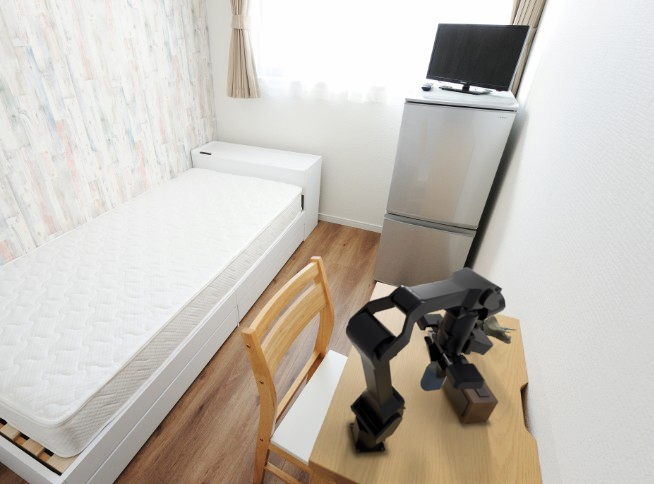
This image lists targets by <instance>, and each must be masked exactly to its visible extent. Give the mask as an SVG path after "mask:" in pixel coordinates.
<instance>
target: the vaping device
mask: <svg viewBox="0 0 654 484" xmlns="http://www.w3.org/2000/svg"><path fill="white" fill-rule="evenodd" d="M445 359H446V357H445V356H444V354H443V355H442V358H441V360H445ZM446 377H447V376H446ZM446 377H444V378H443V379H438V378H437V362H435V361H432V362H431V363H428V364H427V366H426V367H425V369H424V372H423V374H422V377H421V378H420V382H419V386H420V388H421V389H422V390H423V391H424V392H432V391H440V390H441V389H442V388H443V384H444V382H445V379H446Z"/></svg>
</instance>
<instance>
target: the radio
mask: <svg viewBox="0 0 654 484" xmlns="http://www.w3.org/2000/svg"><path fill="white" fill-rule="evenodd" d="M442 388H443V390H444V392H445V394H446V396H447V398H448V400H449V401H450V403H451V405H452V407H453V408H454V410H455V412H456V414H457V416H458V418H459V420H460V421H461V423H462V424H479V423H487V421H489V419H490V417H491V415H492V414H493V412H494V410H495V409H496V407H497V406H498V404H499V400H498V399H497V397H496V396H495V394H494V393H493V391H492V390H491V388H490V387H489V386H488V384H487V382H486V381H485V382H484V384H483V386H482V388H481V389H459V390H457V389H455V388H453V387H452V385H451V383H450V382H449V380H448V378H447V376H446V378H445V380H444V382H443V385H442Z"/></svg>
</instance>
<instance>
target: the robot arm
mask: <svg viewBox="0 0 654 484" xmlns="http://www.w3.org/2000/svg"><path fill="white" fill-rule="evenodd" d="M502 291H503V288H502V287H500V285H499V286H498V285H497V284H496V283H494V282H492V281H491V280H489V279H488V278H486V277H485V276H483V275H482V274H479V273H477V272H476V271H475V270H473V269H472V268H470V267H463V268H460V269H457V270H454V271H453V272H452V274H451V276H450V278H448V279H442V280H439V281H433V282H428V283H422V284H418V285H413V286H412V285H411V286H405V285H399V286H397V287H396V288H395V289H394V290H392V291H391V292H390V293H389V294H388V295H386V296H381V297H379V298H375V299H373V300H369V301H367V302H366V303H365V304H364V305H363V306H361V308H360V309H358V310H357V311H356V312H355V313H354V314H353V315H352V316H351V317H350V318H349V320H348V321H347V325H346V326H345V334H346V337H347V338H348V340H349V342H350V343H351V345H352V346H353V348H354V349H355V350H356V351H357V353H358V354H359V356H360V361H361V364H362V370H363V375H364V379H365V385H366V388H365V389H364V390H363V391H362V392H361V394H360V395H359V396H358V397H357V398H356V399H355V400H354V401H353V402H352V404H351V405H350V406H349V408H350V410H351V412H352V413H353V414H354V415H355V417H354V420H353V422H350V424H349V429H350V433H351V438H352V441H353V445H354V449H355V452H356V453H357V454H371V453H373V454H374V453H384V452H386V447H385V443H384V442H385V441H386V439H388V438H390V437H392V435H394V433H395V432H396V431H397V429H398V427H399V426H400V424H401V423H402V422H403V419H404V417H403V416H404V413H405V412H404V410H406V409H407V408H406V406H405V404H406V401H405V398H404V397H403V396H402V395H401V393H400V392H398V389H396V388H395V387H394V386H393V381H392V372H391V360H393V359H394V358H395V357H397V356H398V355H399V353H400V352H402V350H404V348H406V347H407V346H408V345H409V343H410V341H411V338H412V334H413V332H414V327H415V324H416V325H417V327H418V328H419V330H420V331H424V332H426V330H427V329H429V328H431V330H430V329H429V330H427V335H424V336H423V340H424V342H425V343H424V344H425V347H426V351H427V354H428V358H429V362H430V363H431V362H432V361H435V362H437V378H438V379H443V378H444V377H447V378H448V380H449V382H450V383H451V385H452V387H453V388H455V389H457V390H459V389H481V388H482V386H483V384H484V382H486V379H485V378H484V376H483V374H482V373H481V372H480V370H479V369H478V367H477V366H476V364H475V363H474V362H469V359H467V357H466V356H470V355H471V353H475V354H479V355H481V356H484V355H486V354H487V353H488V352H489V351H490V350H491V349H492V348H493V347H494V343H493V342H492V340H491V339H490V338H489V336H487V335H486V334H485V333H484V332H483V331H482V330H481V329H480V328H479V327H478V326H479V325H478V323H477V322H476V321H477V320H481V321H483V320H486V319H488V318H490V317H491V316H495V315H497V314H499V313H501V312H502V311H504V310H505V309H506V306H507V305H506V299H505V297H504V295H503V293H501V292H502ZM395 308H396V309H397V310H398V311H400V312H401V313H402V314H403V315H404V316H405V318H404V322H403V325H402V329H401V332H400V333H399V334H398V335H397V336H396V335H395V334H394V333H393V332H392V331H391V330H390V329H388V327H387V326H386V325H385V324H384V323H382V321H380V320H379V319H378V318H377V317H376V316H375V314H376V313H379V312H383V311H387V310H390V309H395ZM439 311H445V312H444V315H442V314H441V313H435V312H439ZM443 354H444V356H445V357H446V359H445V360H441V358H442V355H443ZM430 363H429V364H430Z"/></svg>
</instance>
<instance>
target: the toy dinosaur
mask: <svg viewBox="0 0 654 484" xmlns="http://www.w3.org/2000/svg"><path fill="white" fill-rule="evenodd" d="M476 322H477V323H478V325H479V326H478V327H479V328H480V329H481V330H482V331H483V332H484V333H485V334H486V335H487V337H492V338H494V339H496V340H499V341H501V342H502V343H504V344H506V345H510V344H511V343H512V336H511V335H508V333H509V334H510V333H511V331H517V329H516V328H511V327H508V326H500V323H499V321H498V319H497V317H496V316H495V315H493V316H491V317H489V318H487V319H485V320H483V321H481V320H477V321H476ZM506 333H507V334H506Z"/></svg>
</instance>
